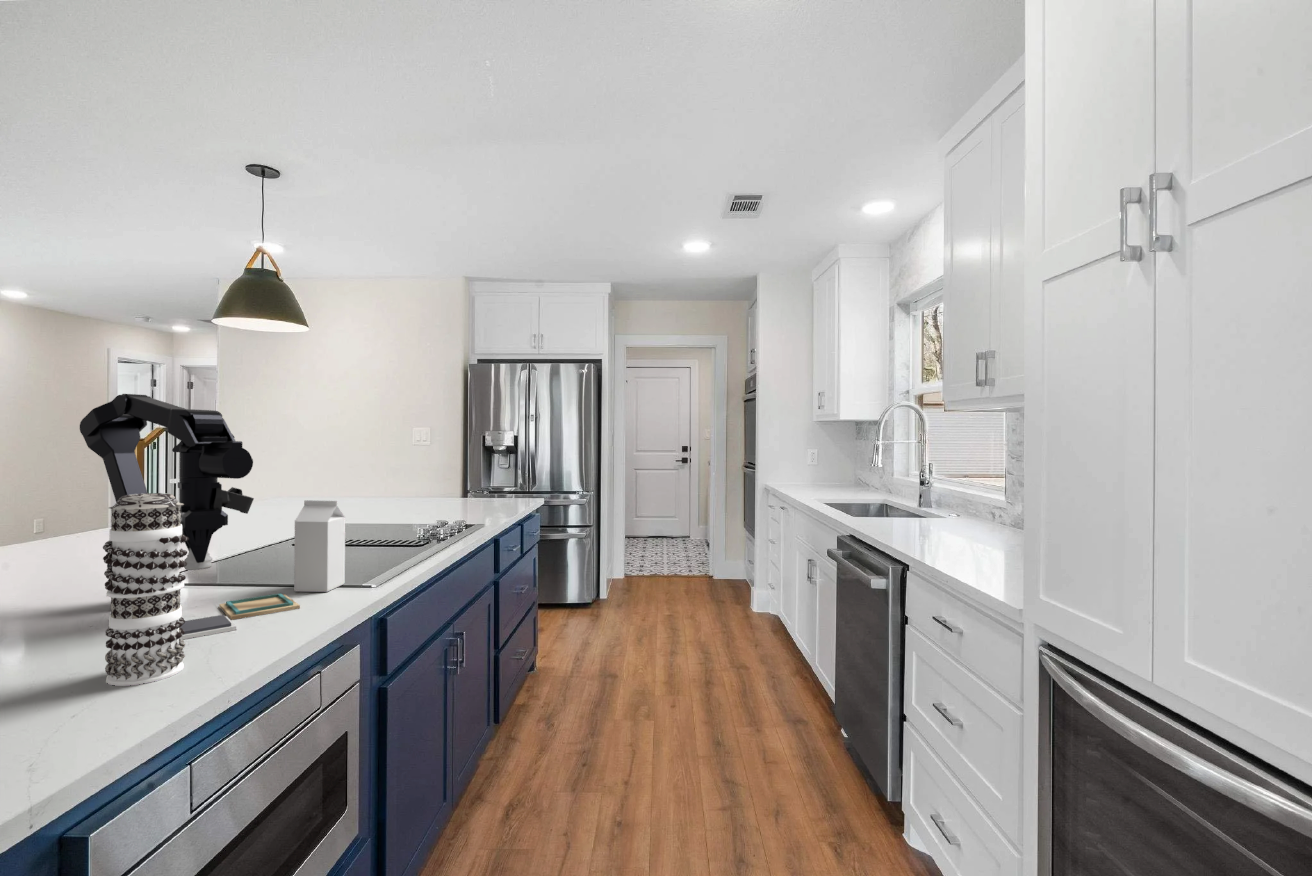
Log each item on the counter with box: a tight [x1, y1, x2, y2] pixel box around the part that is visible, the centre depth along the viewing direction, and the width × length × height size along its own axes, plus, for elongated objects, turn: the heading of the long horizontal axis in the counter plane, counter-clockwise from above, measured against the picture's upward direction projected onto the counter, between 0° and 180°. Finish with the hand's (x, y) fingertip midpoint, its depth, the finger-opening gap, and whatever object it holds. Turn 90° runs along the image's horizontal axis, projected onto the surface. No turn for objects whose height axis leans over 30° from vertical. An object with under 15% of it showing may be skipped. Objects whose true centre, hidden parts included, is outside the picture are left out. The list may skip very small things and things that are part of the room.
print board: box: [218, 592, 301, 621], centre depth 118 cm, size 11×11×1 cm
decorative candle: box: [102, 492, 189, 687], centre depth 86 cm, size 9×9×25 cm
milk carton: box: [293, 500, 346, 593], centre depth 133 cm, size 7×7×19 cm
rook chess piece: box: [183, 549, 214, 571], centre depth 115 cm, size 4×4×8 cm
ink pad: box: [180, 614, 237, 641], centre depth 105 cm, size 8×8×1 cm
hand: (198, 560), depth 115 cm, fingers closed on rook chess piece, 4 cm apart
